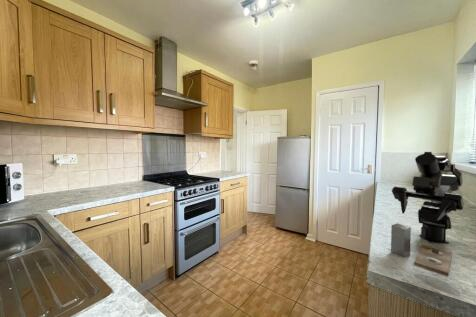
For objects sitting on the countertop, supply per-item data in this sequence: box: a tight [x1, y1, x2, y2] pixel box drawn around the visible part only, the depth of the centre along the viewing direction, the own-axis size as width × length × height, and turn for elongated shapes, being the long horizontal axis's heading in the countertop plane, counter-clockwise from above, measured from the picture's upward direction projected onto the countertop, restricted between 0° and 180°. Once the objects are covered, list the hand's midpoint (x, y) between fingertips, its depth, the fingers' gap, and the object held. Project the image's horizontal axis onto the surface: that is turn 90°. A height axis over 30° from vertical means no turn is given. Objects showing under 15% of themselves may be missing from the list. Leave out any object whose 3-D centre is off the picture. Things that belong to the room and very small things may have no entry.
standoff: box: [390, 222, 412, 258], centre depth 70 cm, size 4×4×10 cm
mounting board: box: [413, 243, 453, 276], centre depth 66 cm, size 18×8×2 cm, turn 130°
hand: (418, 216), depth 70 cm, fingers open, 9 cm apart
